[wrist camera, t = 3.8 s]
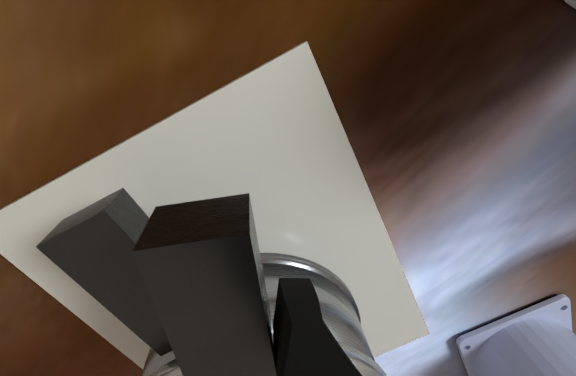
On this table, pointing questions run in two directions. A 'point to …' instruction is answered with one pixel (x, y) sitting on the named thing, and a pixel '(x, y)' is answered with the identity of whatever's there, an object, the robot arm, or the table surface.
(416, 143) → the table surface
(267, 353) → the lid
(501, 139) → the table surface
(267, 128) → the plate
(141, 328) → the pot
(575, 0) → the white cup
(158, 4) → the table surface
